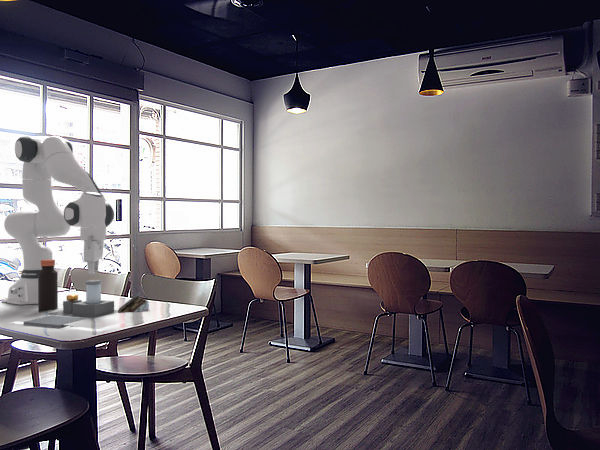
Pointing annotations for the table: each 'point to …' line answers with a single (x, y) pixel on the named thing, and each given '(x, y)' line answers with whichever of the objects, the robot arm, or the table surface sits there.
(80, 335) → the table surface
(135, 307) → the chocolate cake
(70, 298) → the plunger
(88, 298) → the block
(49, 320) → the mat
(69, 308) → the block
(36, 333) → the table surface
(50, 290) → the bottle
